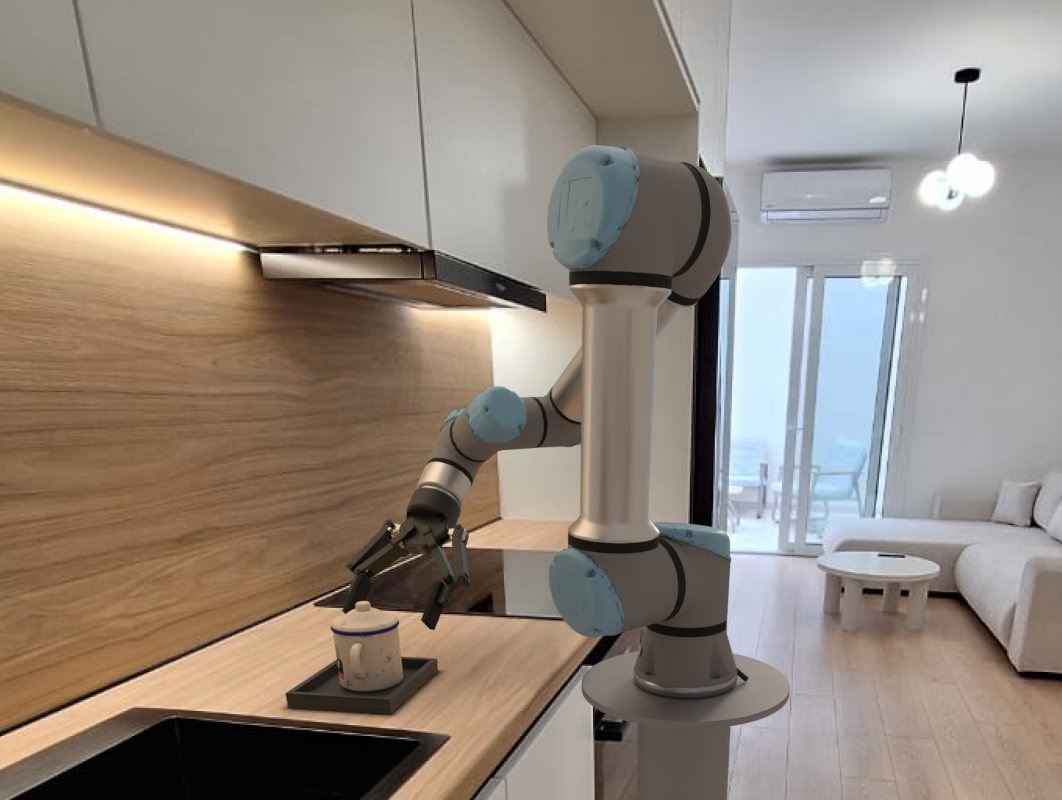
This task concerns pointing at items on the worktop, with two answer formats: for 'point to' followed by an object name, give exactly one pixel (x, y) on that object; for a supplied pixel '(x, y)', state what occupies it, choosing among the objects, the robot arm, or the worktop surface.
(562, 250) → the robot arm
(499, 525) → the worktop surface
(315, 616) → the worktop surface
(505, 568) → the worktop surface
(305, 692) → the base pad
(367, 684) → the teacup with lid
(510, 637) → the worktop surface
